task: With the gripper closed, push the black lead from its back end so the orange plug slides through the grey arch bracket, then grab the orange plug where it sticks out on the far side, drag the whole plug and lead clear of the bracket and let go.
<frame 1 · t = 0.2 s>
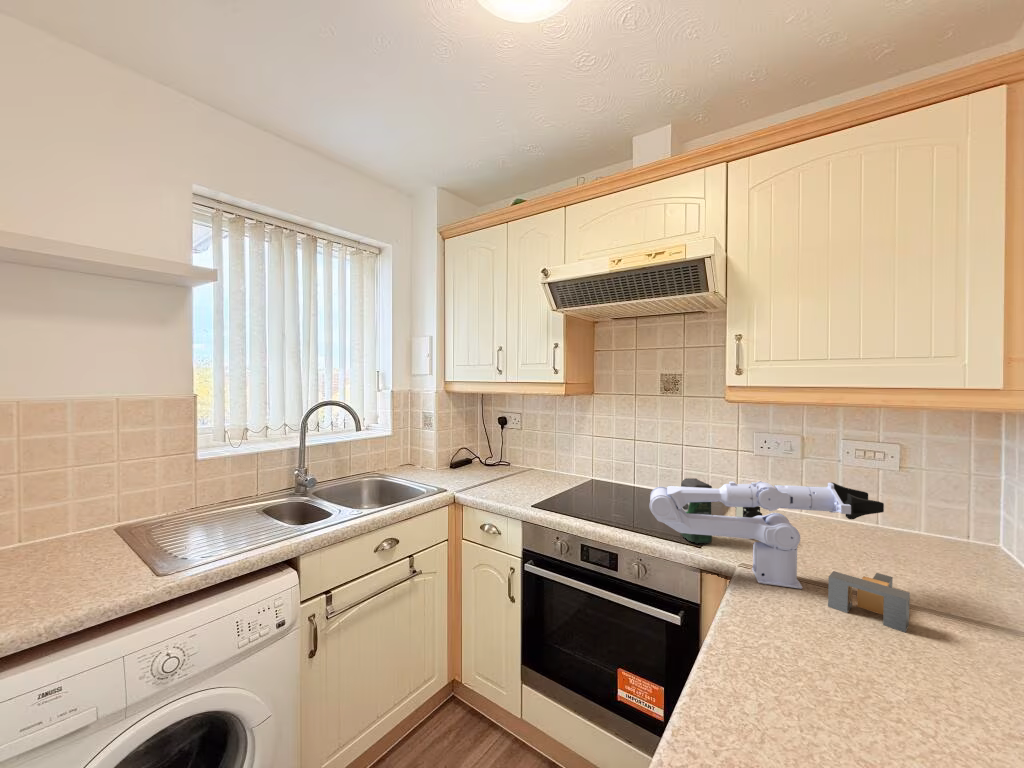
hand: (875, 502, 104), 22 cm above the worktop, tool horizontal, fingers open, 7 cm apart
pneumatic valve: (748, 536, 139), on the worktop
coffee jar: (695, 539, 137), on the worktop
plug: (877, 598, 102), on the worktop
grey arch bracket: (866, 615, 94), on the worktop
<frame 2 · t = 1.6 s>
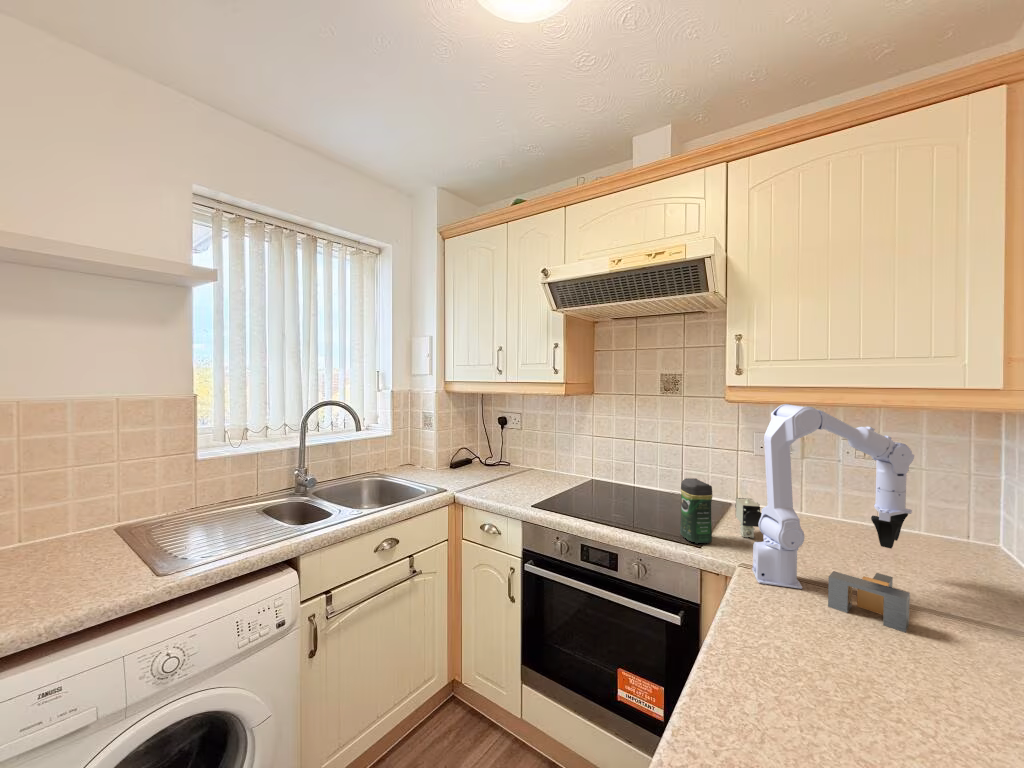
hand: (889, 543, 110), 9 cm above the worktop, tool pointing down, fingers open, 7 cm apart
nothing on the worktop moved.
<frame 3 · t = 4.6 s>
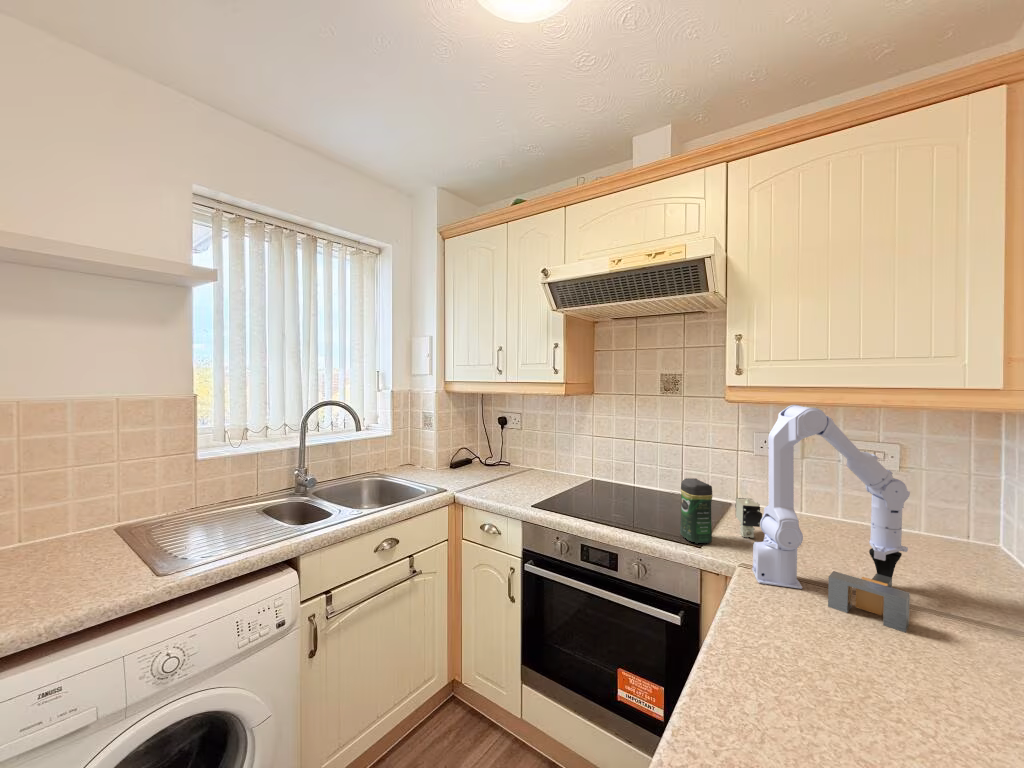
hand: (884, 580, 107), 1 cm above the worktop, tool pointing down, fingers closed
plug: (876, 599, 101), on the worktop, touching gripper
everything else where it was.
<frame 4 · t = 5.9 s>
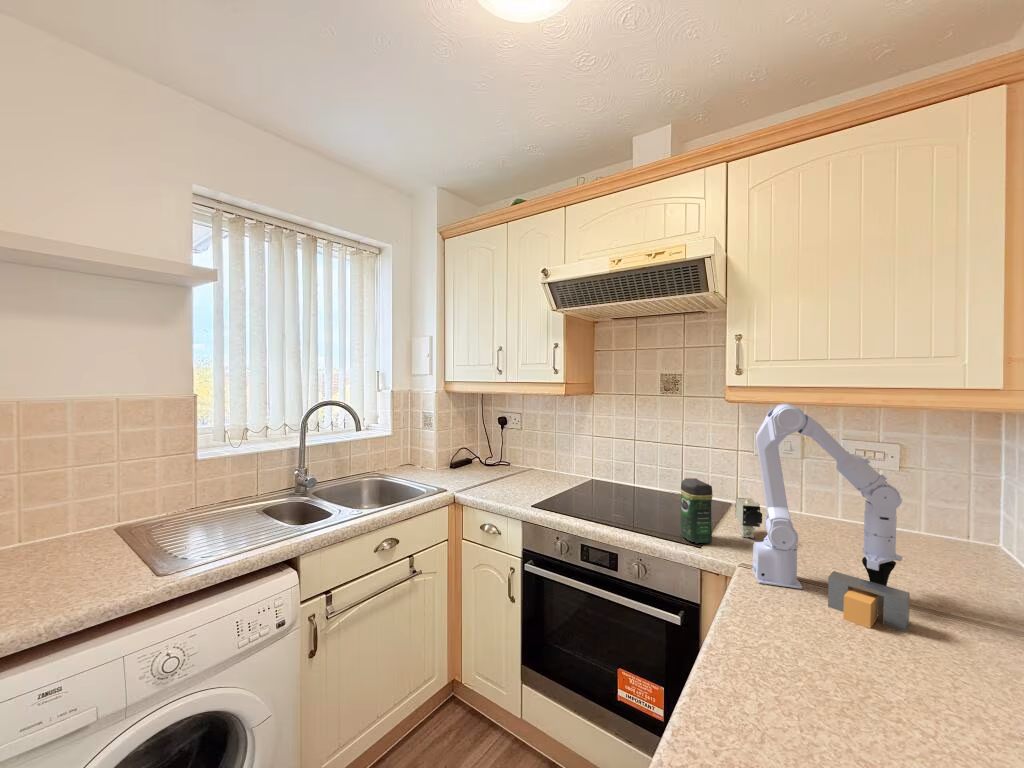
hand: (878, 591, 102), 1 cm above the worktop, tool pointing down, fingers closed
plug: (867, 610, 96), on the worktop, touching gripper
everything else where it was.
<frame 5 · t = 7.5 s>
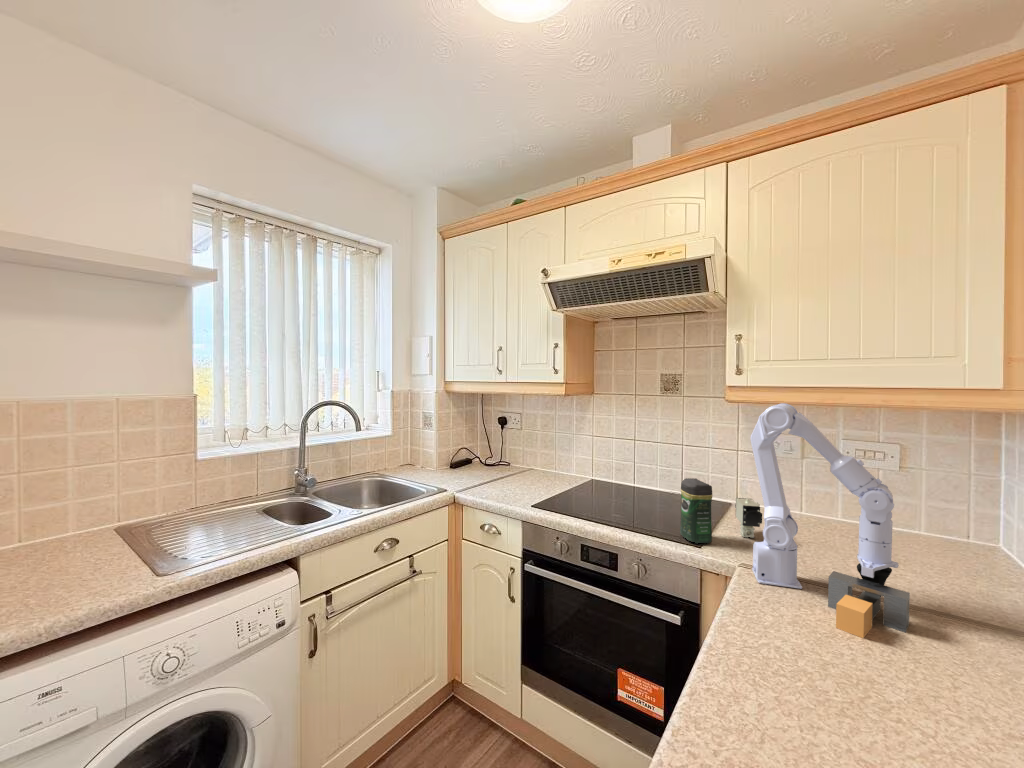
hand: (873, 598, 99), 1 cm above the worktop, tool pointing down, fingers closed
plug: (861, 619, 93), on the worktop, touching gripper
everything else where it was.
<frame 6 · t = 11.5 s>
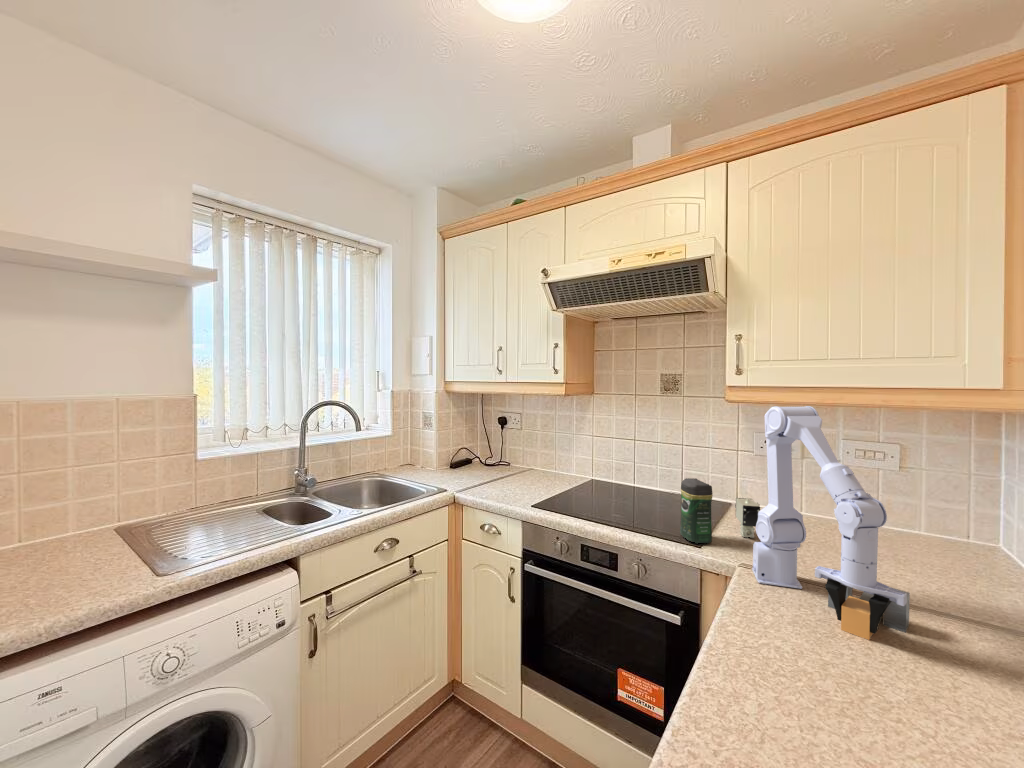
hand: (857, 624, 88), 1 cm above the worktop, tool pointing down, fingers closed on plug, 5 cm apart
plug: (864, 620, 93), on the worktop, touching gripper
everything else where it was.
when the fingers open (1 cm above the worktop, at t = 14.2 s): plug stays where it is, on the worktop.
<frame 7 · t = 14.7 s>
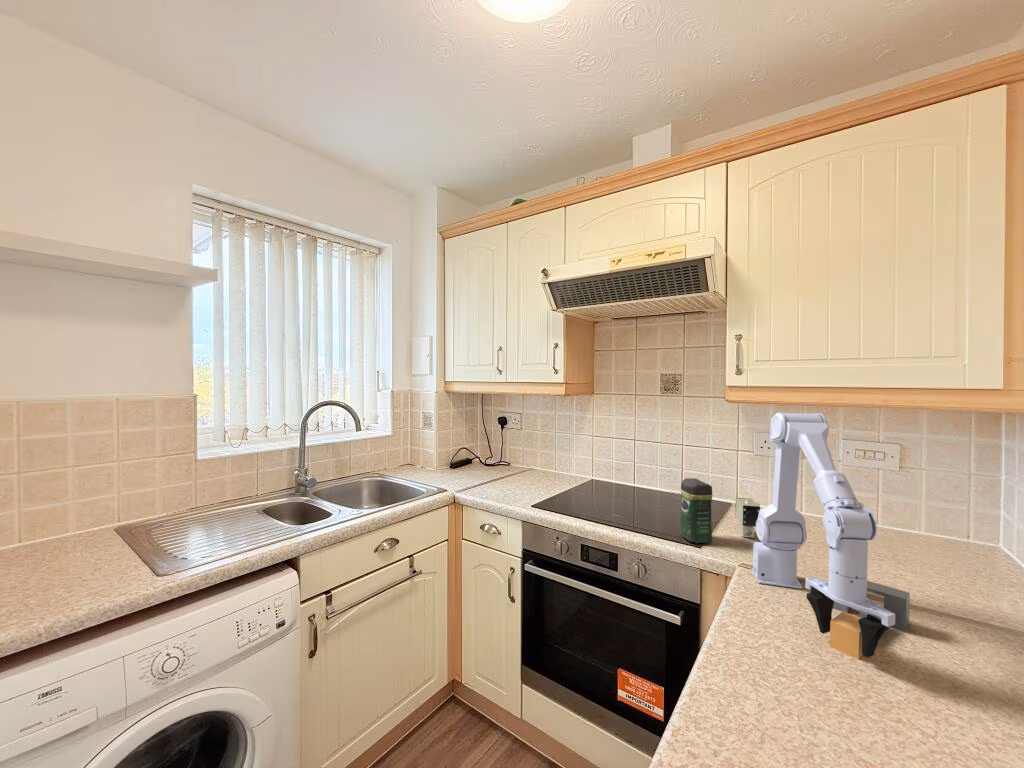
hand: (845, 643, 83), 1 cm above the worktop, tool pointing down, fingers open, 7 cm apart
plug: (860, 638, 86), on the worktop
everything else where it was.
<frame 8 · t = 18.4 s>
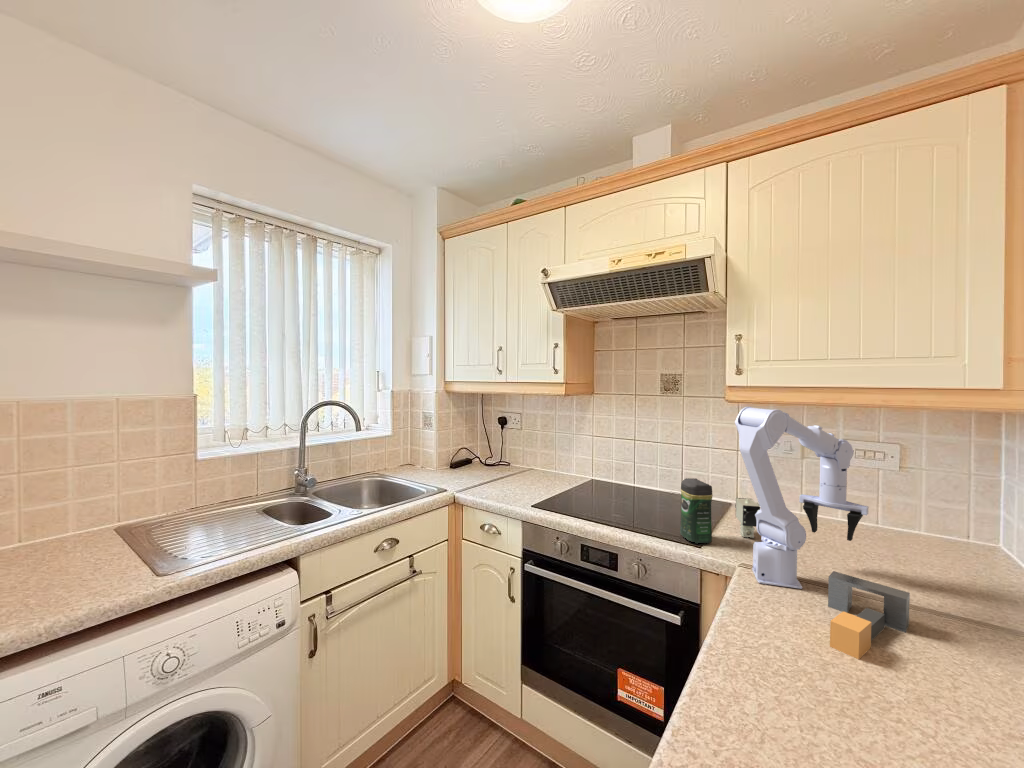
hand: (831, 535, 115), 9 cm above the worktop, tool pointing down, fingers open, 7 cm apart
nothing on the worktop moved.
at the end: plug inside the target area (2.4 cm from its centre), on the worktop; the gripper is holding nothing; plug tilted 0° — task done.
